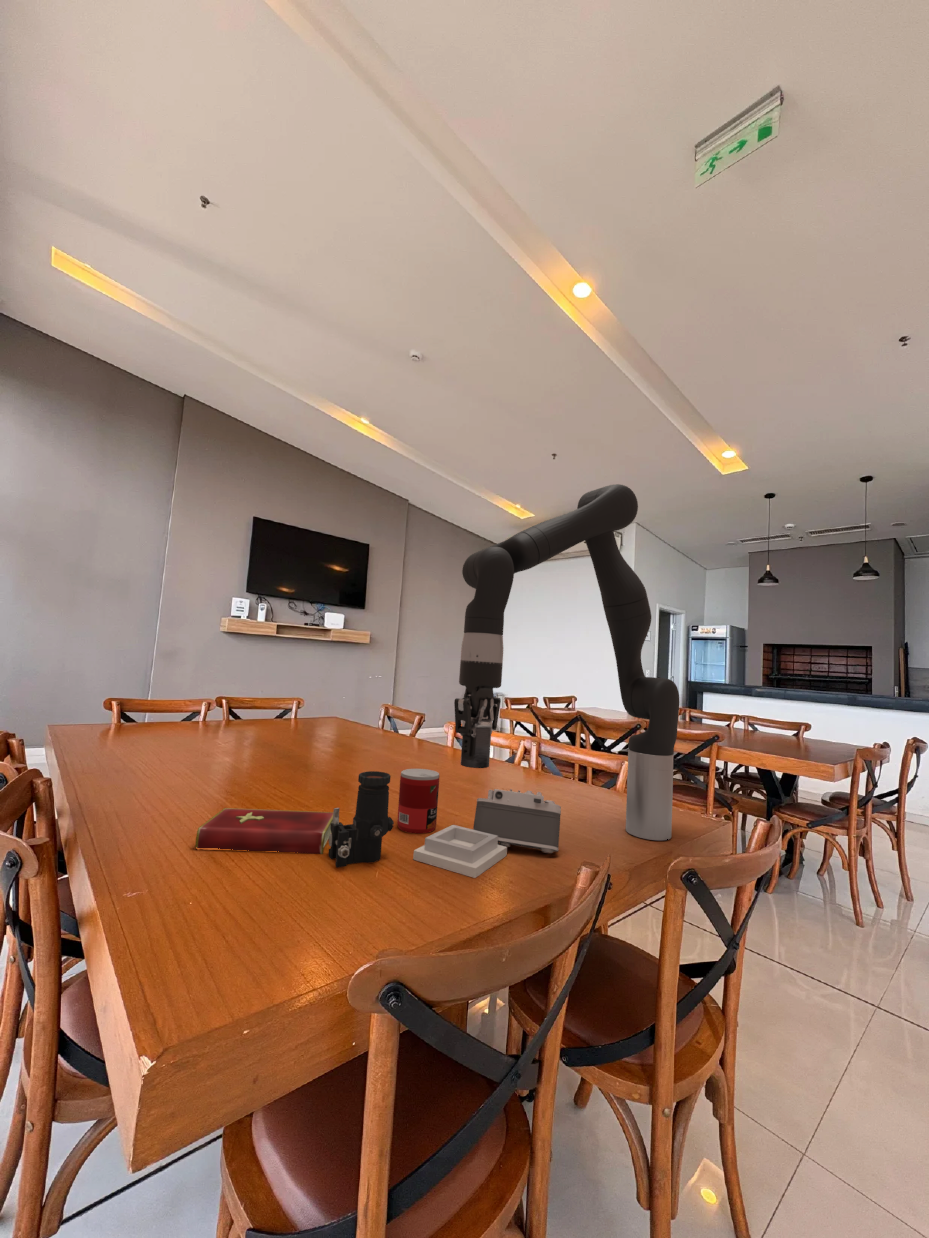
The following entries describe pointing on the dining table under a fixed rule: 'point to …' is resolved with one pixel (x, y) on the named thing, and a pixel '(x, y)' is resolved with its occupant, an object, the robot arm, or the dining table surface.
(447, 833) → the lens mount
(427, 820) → the canned food
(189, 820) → the dining table surface
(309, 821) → the hardcover book
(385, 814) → the scope
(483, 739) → the lens
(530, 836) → the camera
